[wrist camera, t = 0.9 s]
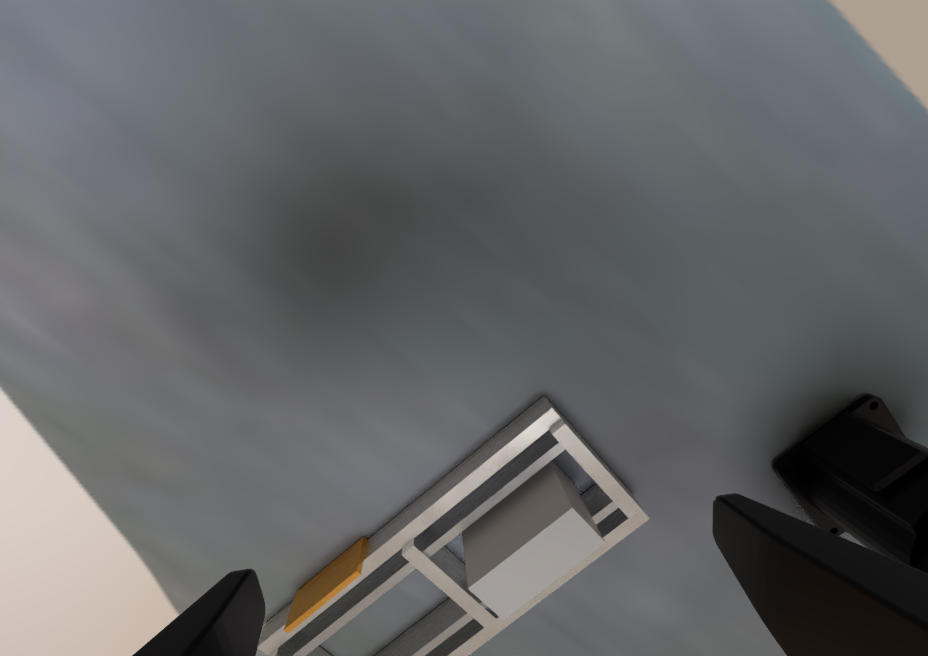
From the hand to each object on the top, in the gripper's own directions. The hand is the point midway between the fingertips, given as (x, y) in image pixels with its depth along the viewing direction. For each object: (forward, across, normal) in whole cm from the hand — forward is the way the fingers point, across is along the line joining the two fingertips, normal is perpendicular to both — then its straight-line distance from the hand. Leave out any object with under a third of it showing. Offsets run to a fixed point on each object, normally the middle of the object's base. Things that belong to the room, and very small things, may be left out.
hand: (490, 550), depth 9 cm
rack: (+14, +2, +12) cm, 18 cm away
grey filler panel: (+14, -2, +9) cm, 17 cm away
